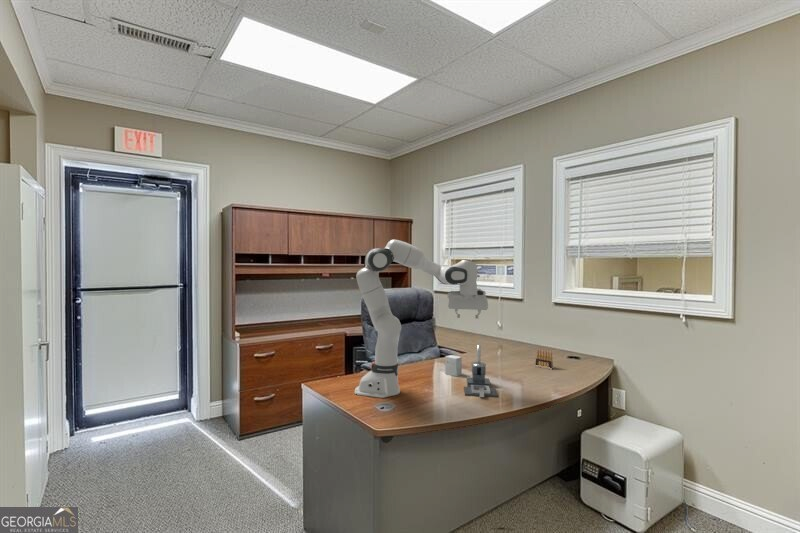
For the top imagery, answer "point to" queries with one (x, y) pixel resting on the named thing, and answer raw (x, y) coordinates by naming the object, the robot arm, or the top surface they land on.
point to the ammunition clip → (544, 358)
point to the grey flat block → (480, 390)
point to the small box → (453, 365)
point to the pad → (468, 393)
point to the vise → (478, 372)
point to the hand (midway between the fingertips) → (467, 318)
